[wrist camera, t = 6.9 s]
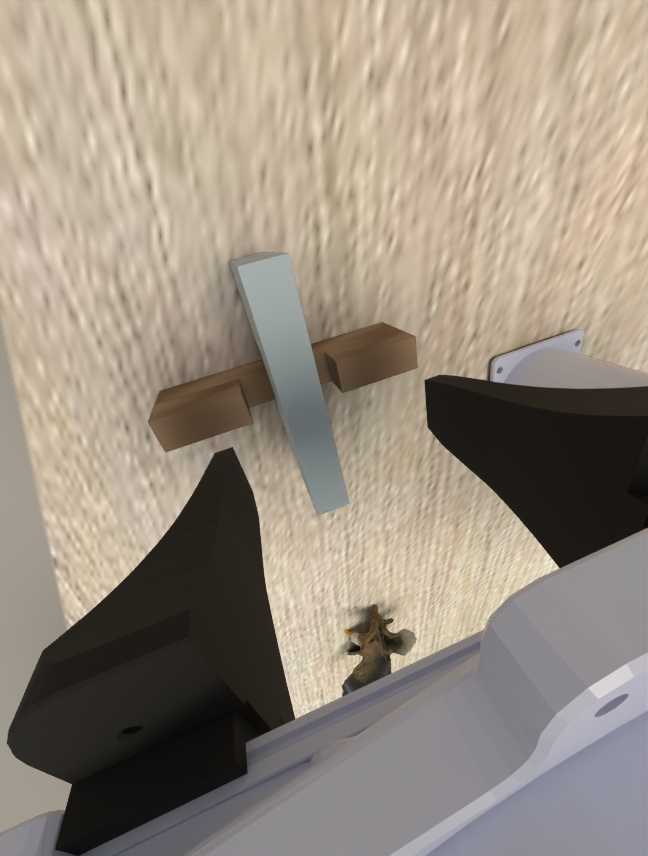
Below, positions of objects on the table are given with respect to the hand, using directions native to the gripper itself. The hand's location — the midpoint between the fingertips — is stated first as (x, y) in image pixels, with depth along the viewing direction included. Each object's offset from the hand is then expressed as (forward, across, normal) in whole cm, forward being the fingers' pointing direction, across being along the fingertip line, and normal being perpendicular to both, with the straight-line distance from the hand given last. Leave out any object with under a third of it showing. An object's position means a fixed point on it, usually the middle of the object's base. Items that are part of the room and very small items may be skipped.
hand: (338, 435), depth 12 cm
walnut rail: (+10, 0, 0) cm, 10 cm away
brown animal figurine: (+10, 0, +32) cm, 34 cm away
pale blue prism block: (+10, +1, 0) cm, 10 cm away
